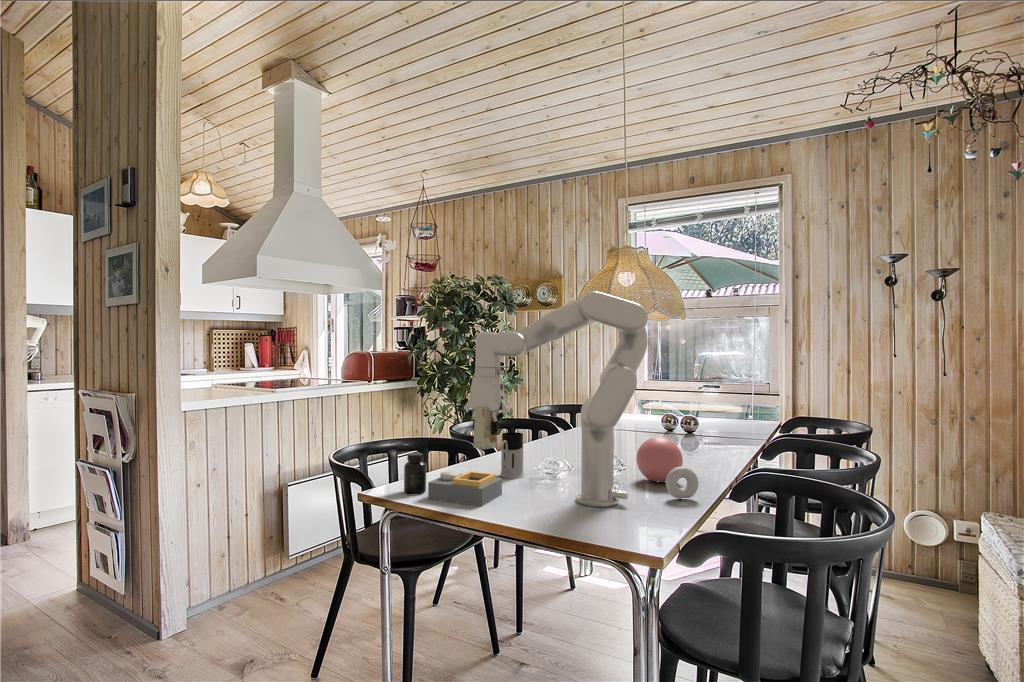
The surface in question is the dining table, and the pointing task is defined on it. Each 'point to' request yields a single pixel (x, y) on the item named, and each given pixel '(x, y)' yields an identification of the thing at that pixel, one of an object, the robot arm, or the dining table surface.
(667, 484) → the donut
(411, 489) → the supplement bottle
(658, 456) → the pink ellipsoid
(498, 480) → the grey rectangular block
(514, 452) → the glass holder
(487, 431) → the skincare box
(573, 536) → the dining table surface
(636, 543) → the dining table surface
